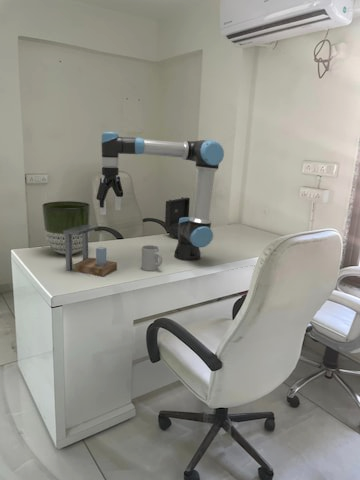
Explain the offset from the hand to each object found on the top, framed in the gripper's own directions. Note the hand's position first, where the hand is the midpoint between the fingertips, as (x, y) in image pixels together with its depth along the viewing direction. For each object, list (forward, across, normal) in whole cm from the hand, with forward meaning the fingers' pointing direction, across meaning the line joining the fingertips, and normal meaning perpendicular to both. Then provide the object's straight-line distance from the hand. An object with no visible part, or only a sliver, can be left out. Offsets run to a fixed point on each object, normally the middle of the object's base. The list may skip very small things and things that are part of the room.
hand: (110, 212), depth 175 cm
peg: (+28, +7, -1) cm, 29 cm away
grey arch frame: (+28, +7, -12) cm, 32 cm away
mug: (+29, -8, +18) cm, 35 cm away
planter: (+28, -11, -34) cm, 46 cm away
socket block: (+28, +7, -4) cm, 29 cm away
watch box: (+29, -89, +11) cm, 94 cm away
